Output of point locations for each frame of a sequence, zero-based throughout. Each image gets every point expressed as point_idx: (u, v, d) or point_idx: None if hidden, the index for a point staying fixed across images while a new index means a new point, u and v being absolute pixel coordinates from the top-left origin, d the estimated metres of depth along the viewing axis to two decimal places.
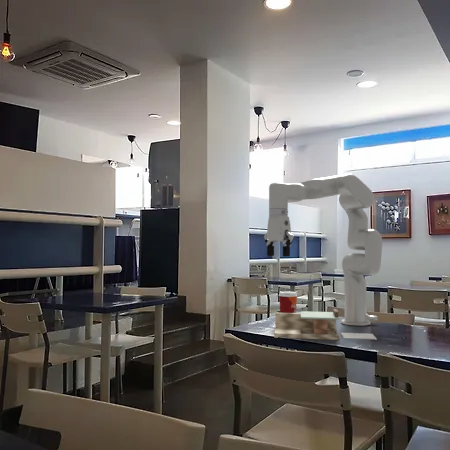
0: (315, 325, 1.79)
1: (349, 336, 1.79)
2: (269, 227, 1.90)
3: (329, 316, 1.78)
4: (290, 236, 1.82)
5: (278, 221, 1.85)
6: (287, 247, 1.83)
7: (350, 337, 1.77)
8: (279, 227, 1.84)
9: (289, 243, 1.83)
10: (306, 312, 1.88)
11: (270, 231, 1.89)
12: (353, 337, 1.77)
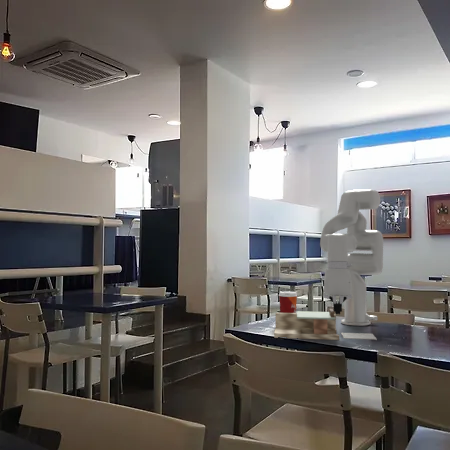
0: (315, 325, 1.79)
1: (349, 336, 1.79)
2: (330, 280, 1.79)
3: (325, 316, 1.78)
4: (350, 297, 1.79)
5: (345, 275, 1.78)
6: (341, 304, 1.80)
7: (350, 337, 1.77)
8: (347, 281, 1.78)
9: (344, 300, 1.80)
10: (302, 312, 1.88)
11: (332, 285, 1.79)
12: (353, 337, 1.77)
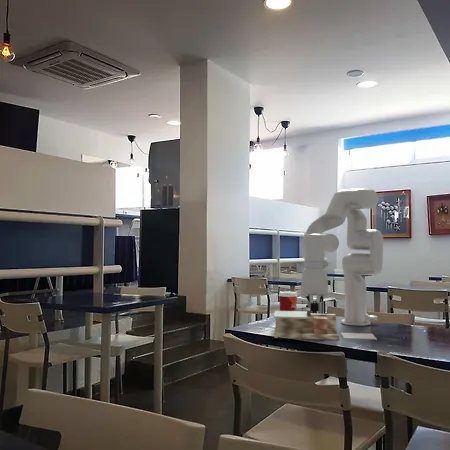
0: (315, 325, 1.79)
1: (349, 336, 1.79)
2: (307, 280, 1.80)
3: (302, 315, 1.80)
4: (326, 296, 1.81)
5: (322, 274, 1.79)
6: (318, 304, 1.81)
7: (350, 337, 1.77)
8: (324, 280, 1.79)
9: None
10: (280, 311, 1.89)
11: (309, 284, 1.80)
12: (353, 337, 1.77)
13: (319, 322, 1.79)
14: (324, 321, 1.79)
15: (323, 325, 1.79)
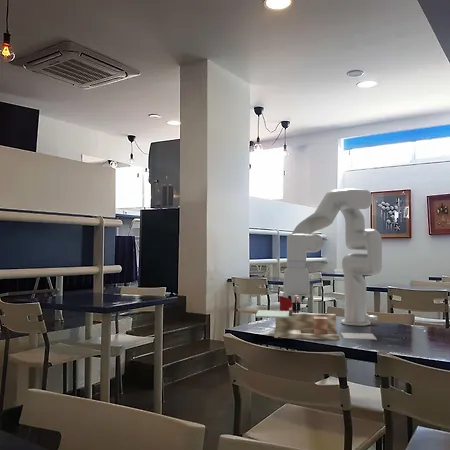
0: (315, 325, 1.79)
1: (349, 336, 1.79)
2: (289, 280, 1.81)
3: (283, 315, 1.81)
4: (308, 296, 1.82)
5: (304, 274, 1.80)
6: None
7: (350, 337, 1.77)
8: (306, 280, 1.80)
9: (302, 299, 1.82)
10: (263, 311, 1.90)
11: (291, 284, 1.81)
12: (353, 337, 1.77)
13: (319, 322, 1.79)
14: (324, 321, 1.79)
15: (323, 325, 1.79)
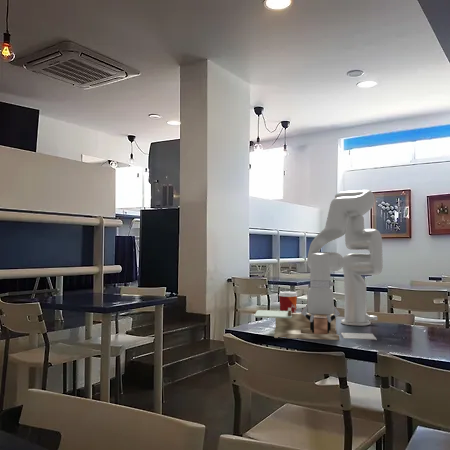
0: (315, 325, 1.79)
1: (349, 336, 1.79)
2: (313, 300, 1.80)
3: (282, 315, 1.81)
4: (337, 313, 1.80)
5: (328, 294, 1.79)
6: (330, 323, 1.80)
7: (350, 337, 1.77)
8: (330, 300, 1.79)
9: None
10: (262, 311, 1.90)
11: (315, 304, 1.79)
12: (353, 337, 1.77)
13: (319, 322, 1.79)
14: (324, 321, 1.79)
15: (323, 325, 1.79)
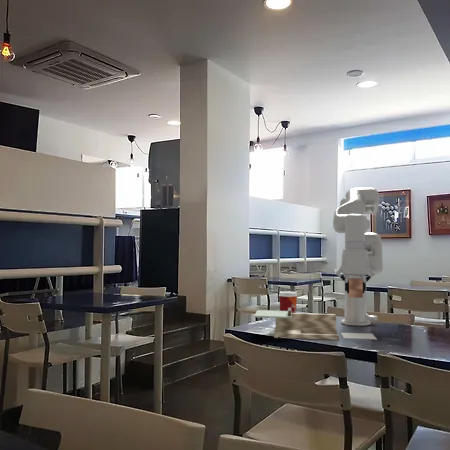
0: (350, 285, 1.80)
1: (349, 336, 1.79)
2: (348, 260, 1.80)
3: (282, 315, 1.81)
4: (373, 274, 1.80)
5: (363, 254, 1.79)
6: (365, 284, 1.81)
7: (350, 337, 1.77)
8: (365, 260, 1.79)
9: None
10: (262, 311, 1.90)
11: (350, 264, 1.80)
12: (353, 337, 1.77)
13: (354, 282, 1.79)
14: (359, 281, 1.79)
15: (358, 285, 1.79)
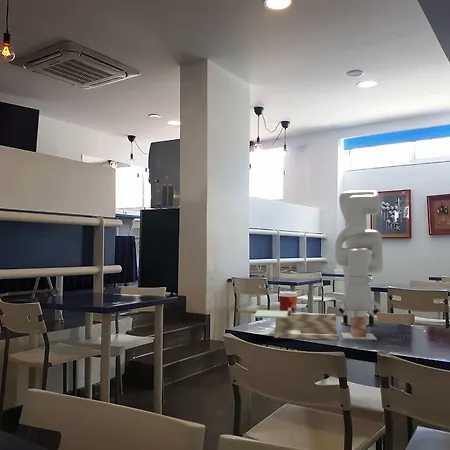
0: (353, 325, 1.79)
1: (349, 336, 1.79)
2: (351, 295, 1.80)
3: (282, 315, 1.81)
4: (379, 306, 1.80)
5: (366, 290, 1.79)
6: None
7: (350, 337, 1.77)
8: (368, 296, 1.79)
9: None
10: (262, 311, 1.90)
11: (353, 300, 1.79)
12: (353, 337, 1.77)
13: (357, 322, 1.79)
14: (362, 321, 1.78)
15: (361, 325, 1.78)
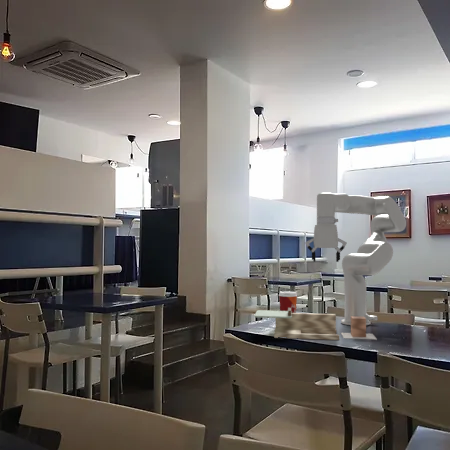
0: (353, 325, 1.79)
1: (349, 336, 1.79)
2: (319, 234, 1.99)
3: (282, 315, 1.81)
4: (345, 243, 1.99)
5: (333, 229, 1.98)
6: (339, 253, 1.99)
7: (350, 337, 1.77)
8: (334, 234, 1.98)
9: (342, 249, 1.99)
10: (262, 311, 1.90)
11: (321, 238, 1.99)
12: (353, 337, 1.77)
13: (357, 322, 1.79)
14: (362, 321, 1.78)
15: (361, 325, 1.78)
